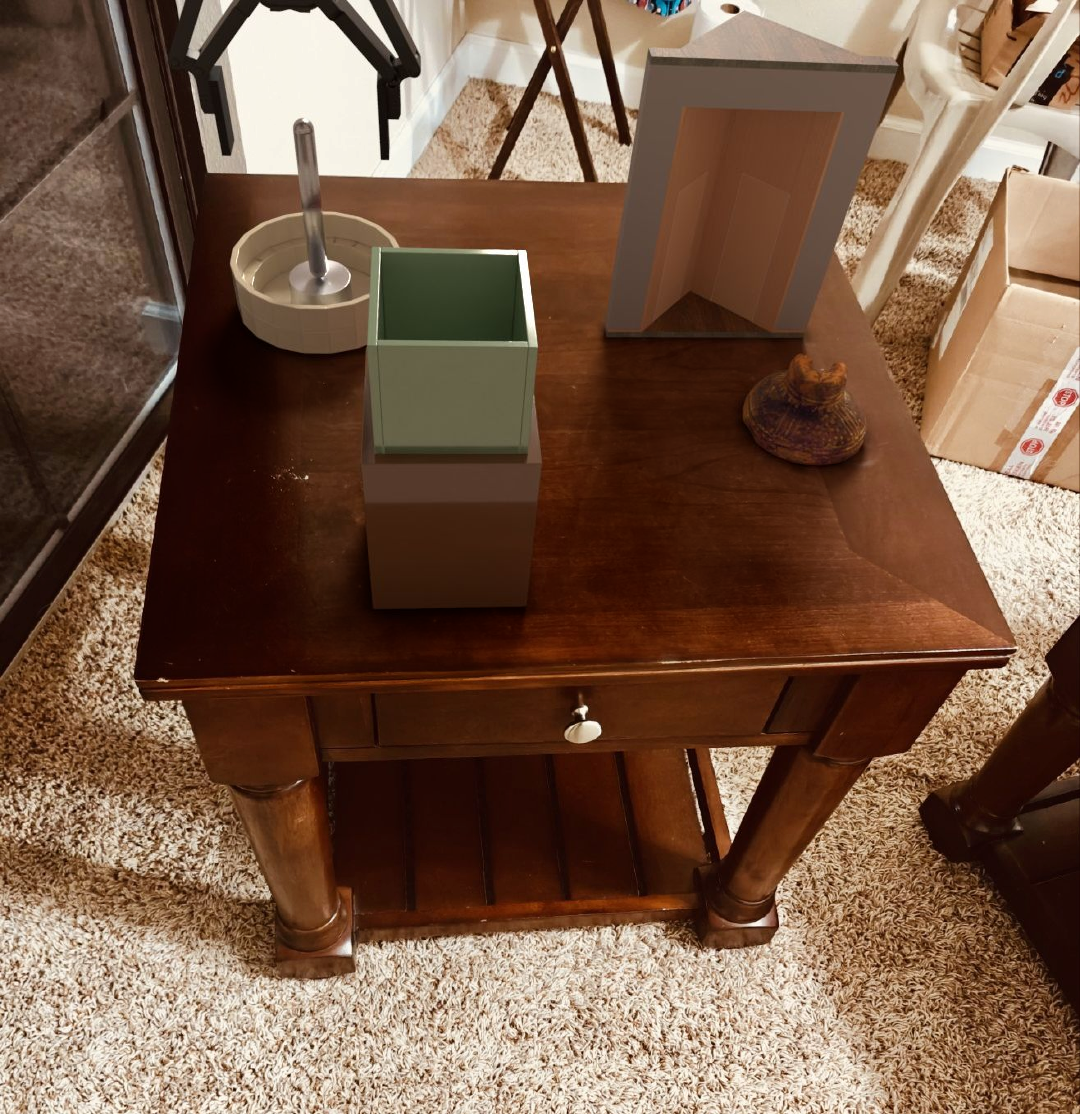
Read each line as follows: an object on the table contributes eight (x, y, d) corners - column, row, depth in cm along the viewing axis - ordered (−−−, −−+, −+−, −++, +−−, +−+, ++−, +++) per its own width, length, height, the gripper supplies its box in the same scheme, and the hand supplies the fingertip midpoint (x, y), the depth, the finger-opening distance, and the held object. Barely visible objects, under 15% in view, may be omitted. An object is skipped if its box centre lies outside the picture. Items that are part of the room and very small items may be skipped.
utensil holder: (372, 609, 77) (350, 355, 58) (376, 496, 85) (358, 238, 65) (526, 606, 78) (554, 357, 59) (516, 495, 86) (538, 242, 67)
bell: (718, 429, 93) (736, 368, 88) (778, 368, 100) (798, 308, 94) (828, 488, 89) (854, 429, 84) (883, 421, 96) (911, 362, 90)
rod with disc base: (289, 320, 98) (263, 135, 83) (294, 283, 101) (270, 101, 87) (351, 321, 98) (336, 137, 84) (353, 284, 102) (339, 103, 87)
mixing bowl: (231, 359, 94) (220, 307, 90) (249, 260, 105) (240, 208, 100) (403, 361, 96) (401, 310, 92) (404, 263, 106) (402, 213, 102)
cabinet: (606, 336, 101) (651, 56, 79) (594, 280, 107) (633, 5, 86) (803, 337, 104) (898, 65, 82) (780, 282, 110) (863, 15, 88)
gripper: (448, -138, 75) (448, 132, 91) (104, -159, 72) (168, 124, 89) (450, -103, 70) (450, 176, 87) (83, -123, 67) (154, 168, 84)
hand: (307, 150), depth 88 cm, fingers open, 13 cm apart
